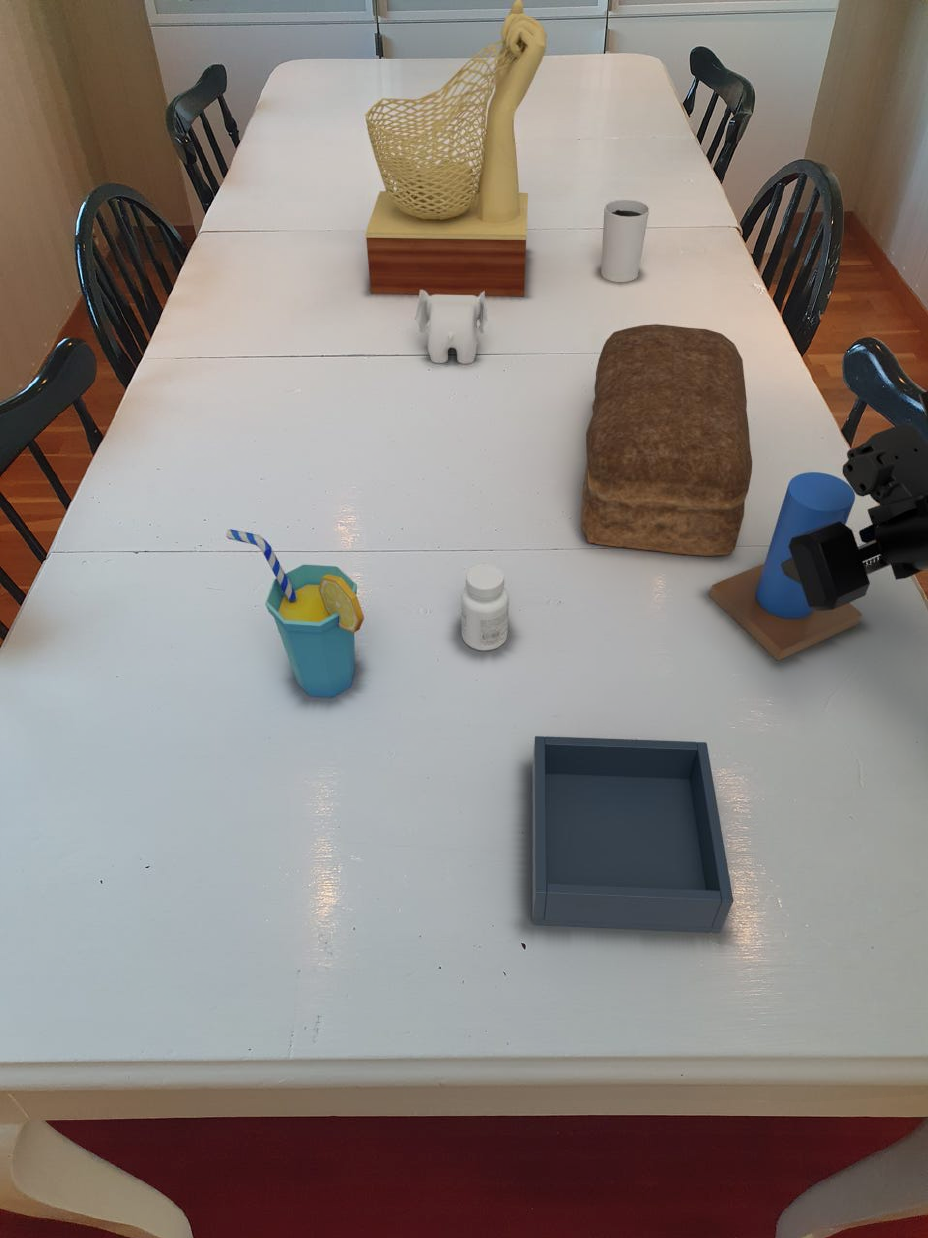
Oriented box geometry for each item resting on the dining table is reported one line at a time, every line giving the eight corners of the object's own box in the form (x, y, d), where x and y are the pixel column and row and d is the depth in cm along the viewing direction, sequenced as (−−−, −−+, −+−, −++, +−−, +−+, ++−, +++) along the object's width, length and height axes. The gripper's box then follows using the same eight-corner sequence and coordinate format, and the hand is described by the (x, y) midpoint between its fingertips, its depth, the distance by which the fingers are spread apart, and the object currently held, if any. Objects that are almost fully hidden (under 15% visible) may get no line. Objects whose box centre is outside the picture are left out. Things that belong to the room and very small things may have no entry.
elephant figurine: (490, 330, 129) (491, 269, 123) (486, 374, 121) (486, 311, 114) (423, 328, 129) (420, 268, 123) (415, 372, 121) (411, 309, 115)
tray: (696, 777, 75) (706, 741, 72) (720, 933, 66) (733, 901, 62) (532, 770, 76) (534, 735, 72) (532, 925, 66) (535, 893, 63)
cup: (231, 674, 84) (195, 551, 73) (281, 621, 88) (255, 498, 78) (359, 731, 79) (340, 608, 68) (404, 671, 84) (394, 548, 73)
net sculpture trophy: (536, 250, 148) (548, -7, 123) (535, 301, 135) (548, 27, 110) (384, 247, 149) (365, -7, 124) (369, 298, 136) (345, 26, 111)
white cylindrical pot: (599, 283, 139) (606, 216, 132) (596, 264, 144) (602, 199, 137) (643, 283, 139) (652, 216, 132) (638, 264, 144) (647, 199, 136)
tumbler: (802, 627, 85) (842, 519, 76) (746, 603, 87) (778, 495, 78) (823, 593, 88) (864, 485, 79) (768, 571, 90) (802, 464, 81)
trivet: (857, 624, 87) (862, 613, 86) (777, 661, 84) (781, 650, 83) (786, 563, 94) (789, 552, 92) (709, 595, 90) (711, 584, 89)
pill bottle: (515, 629, 87) (518, 570, 82) (492, 658, 85) (493, 599, 79) (477, 612, 89) (477, 553, 83) (452, 640, 86) (451, 581, 81)
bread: (729, 409, 114) (751, 310, 105) (737, 569, 93) (767, 463, 84) (593, 397, 116) (603, 299, 107) (572, 552, 95) (582, 446, 86)
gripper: (1025, 385, 69) (871, 437, 84) (841, 454, 63) (710, 497, 78) (1069, 524, 69) (909, 551, 84) (891, 605, 63) (752, 619, 78)
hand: (823, 552), depth 81 cm, fingers open, 9 cm apart
